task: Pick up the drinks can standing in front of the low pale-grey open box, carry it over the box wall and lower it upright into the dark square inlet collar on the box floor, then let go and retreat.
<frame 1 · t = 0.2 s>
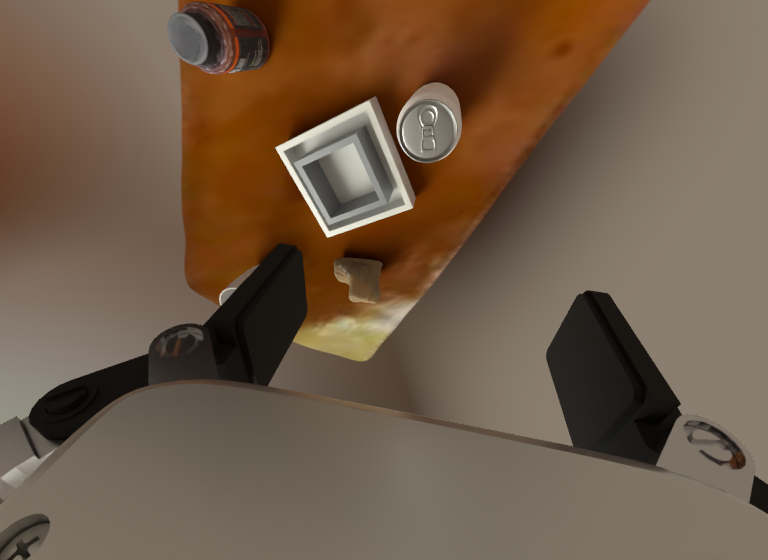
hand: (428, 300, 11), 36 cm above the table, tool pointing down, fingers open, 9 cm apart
stone: (363, 265, 56), on the table
cup: (271, 272, 60), on the table
supplement bottle: (249, 40, 39), on the table
can: (433, 112, 40), on the table
inlet box: (352, 169, 46), on the table
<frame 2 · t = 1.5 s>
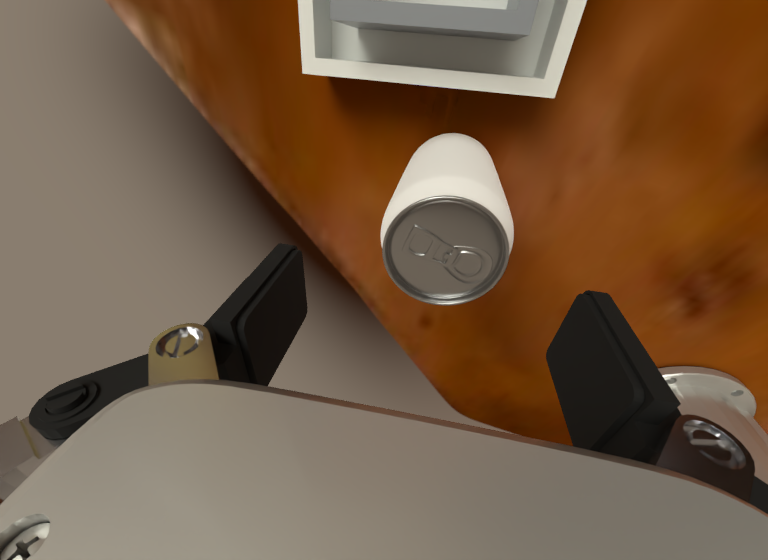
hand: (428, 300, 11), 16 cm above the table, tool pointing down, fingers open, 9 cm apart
can: (449, 177, 24), on the table
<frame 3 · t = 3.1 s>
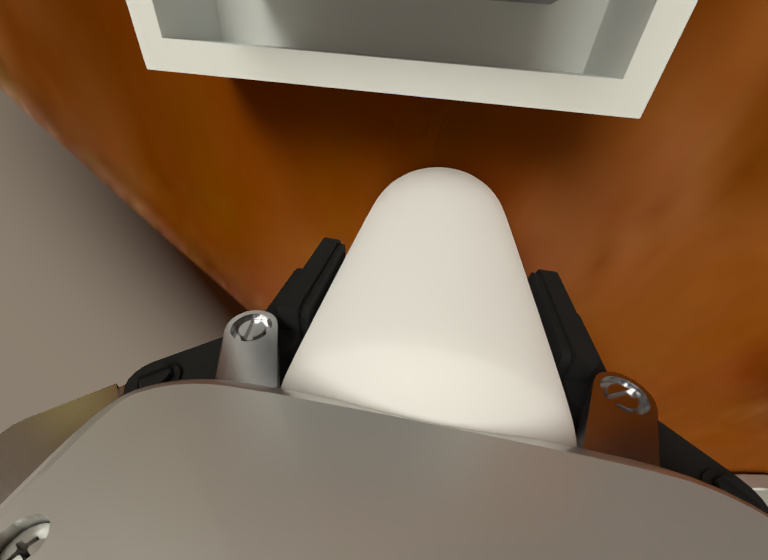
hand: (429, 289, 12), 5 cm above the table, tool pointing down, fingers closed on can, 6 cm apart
can: (435, 230, 16), on the table, touching gripper
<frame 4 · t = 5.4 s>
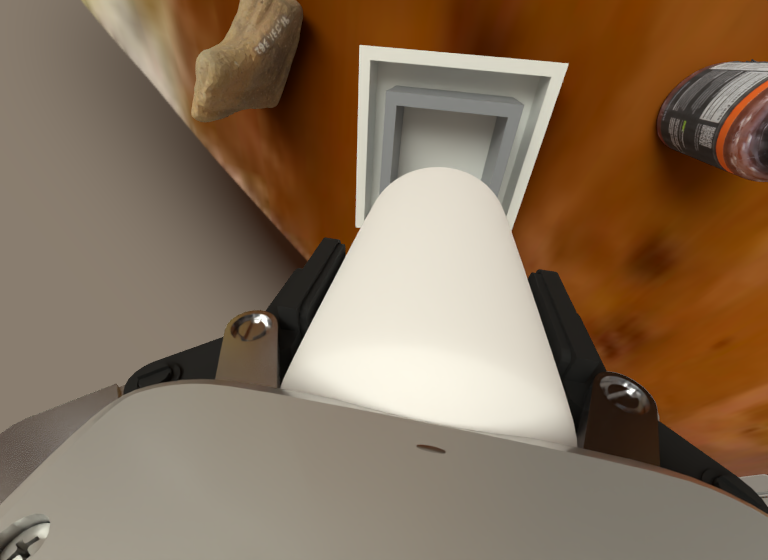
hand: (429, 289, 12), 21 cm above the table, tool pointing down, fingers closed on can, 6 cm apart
stone: (273, 52, 27), on the table
usb wall charger: (754, 484, 49), on the table
supplement bottle: (698, 108, 24), on the table
can: (435, 230, 16), point 16 cm above the table, touching gripper
inlet box: (443, 148, 29), on the table
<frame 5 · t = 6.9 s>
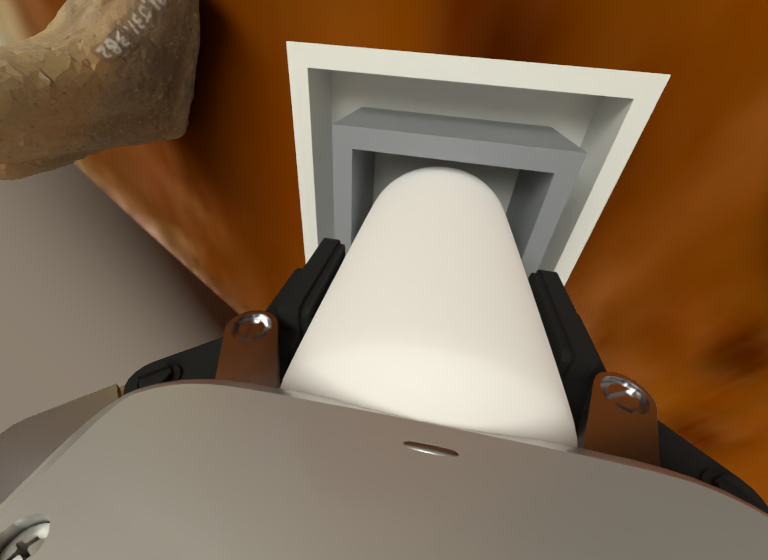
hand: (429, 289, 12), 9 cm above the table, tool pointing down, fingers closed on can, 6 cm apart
stone: (172, 53, 17), on the table
can: (435, 229, 16), point 4 cm above the table, touching gripper
inlet box: (438, 199, 19), on the table
when the fingers open (7 cm above the table, at t = 8.1 s): can drops 2 cm, resting on inlet box.
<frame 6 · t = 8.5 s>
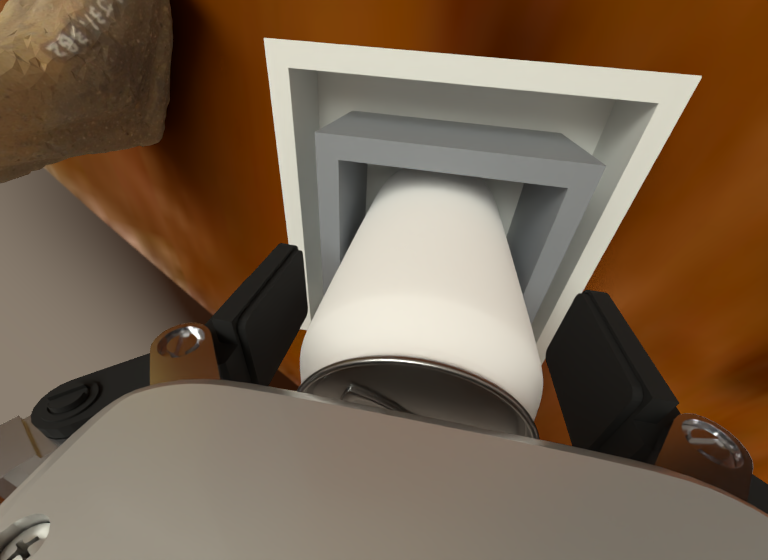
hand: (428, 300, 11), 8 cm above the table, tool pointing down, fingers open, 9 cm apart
stone: (145, 52, 16), on the table
can: (432, 218, 17), point 1 cm above the table, touching inlet box
inlet box: (436, 209, 18), on the table
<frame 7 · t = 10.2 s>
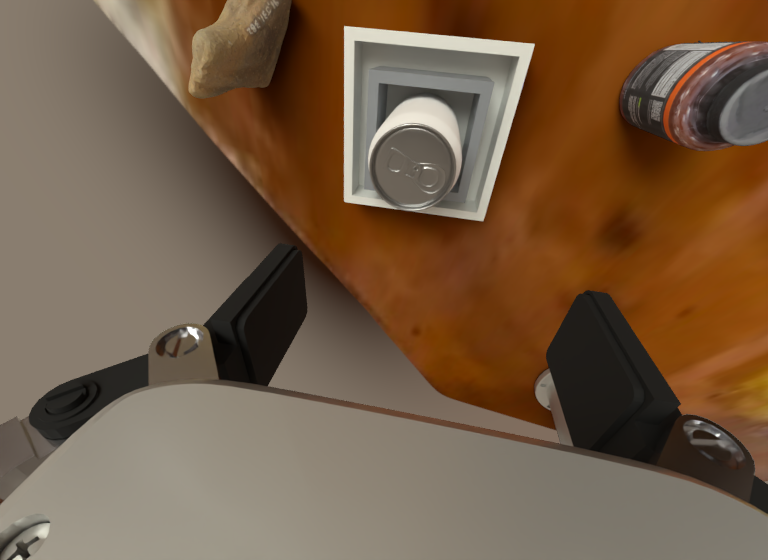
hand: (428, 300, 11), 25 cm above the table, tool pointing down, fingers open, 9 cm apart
stone: (264, 34, 29), on the table
supplement bottle: (656, 87, 26), on the table
can: (423, 130, 30), point 1 cm above the table, touching inlet box
inlet box: (425, 127, 31), on the table
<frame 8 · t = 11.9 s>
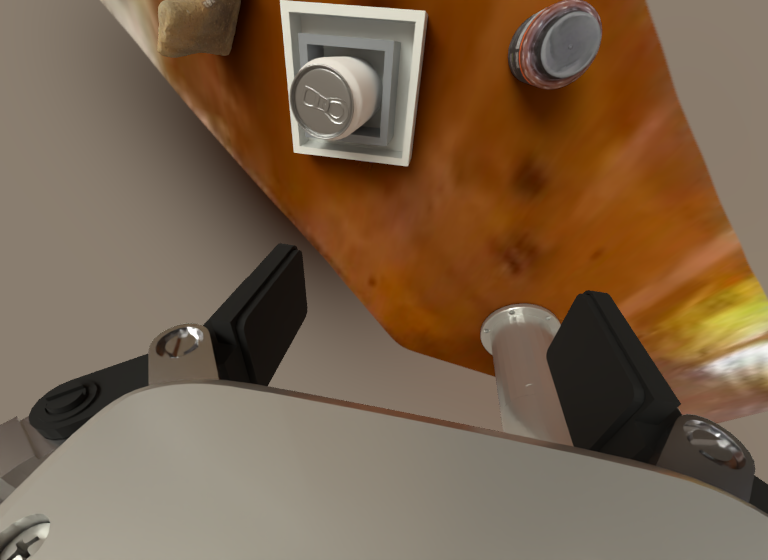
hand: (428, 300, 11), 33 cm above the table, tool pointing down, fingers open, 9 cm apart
stone: (224, 11, 35), on the table
supplement bottle: (537, 49, 33), on the table
can: (356, 90, 37), point 1 cm above the table, touching inlet box
inlet box: (359, 88, 37), on the table
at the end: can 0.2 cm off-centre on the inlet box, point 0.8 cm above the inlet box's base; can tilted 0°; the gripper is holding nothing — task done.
